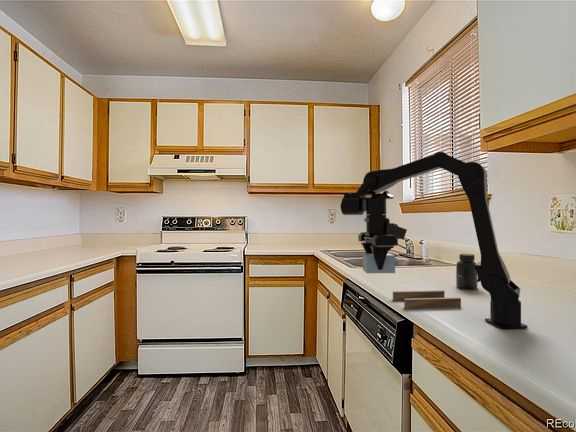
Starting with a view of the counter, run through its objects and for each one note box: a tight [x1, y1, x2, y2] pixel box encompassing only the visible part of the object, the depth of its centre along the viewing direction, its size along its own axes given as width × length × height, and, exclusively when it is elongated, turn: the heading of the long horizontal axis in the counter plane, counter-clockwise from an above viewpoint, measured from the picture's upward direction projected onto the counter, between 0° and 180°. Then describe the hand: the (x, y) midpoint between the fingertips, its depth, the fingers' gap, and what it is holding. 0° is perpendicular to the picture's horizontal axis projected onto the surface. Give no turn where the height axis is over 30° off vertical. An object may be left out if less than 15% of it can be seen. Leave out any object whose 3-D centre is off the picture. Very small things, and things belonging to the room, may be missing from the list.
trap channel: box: [392, 289, 462, 309], centre depth 103 cm, size 10×16×2 cm, turn 93°
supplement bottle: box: [455, 253, 479, 291], centre depth 123 cm, size 7×7×12 cm
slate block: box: [362, 252, 396, 274], centre depth 101 cm, size 6×8×5 cm
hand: (376, 268), depth 101 cm, fingers closed on slate block, 6 cm apart
